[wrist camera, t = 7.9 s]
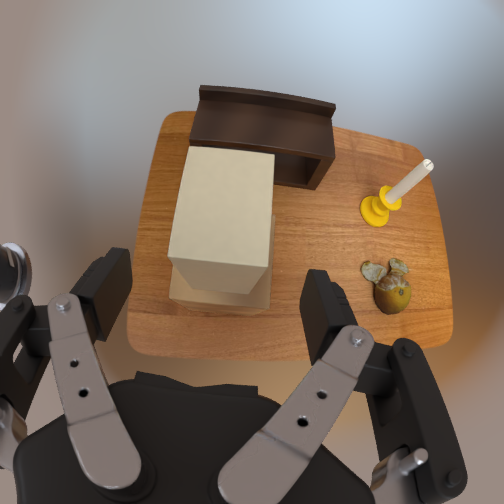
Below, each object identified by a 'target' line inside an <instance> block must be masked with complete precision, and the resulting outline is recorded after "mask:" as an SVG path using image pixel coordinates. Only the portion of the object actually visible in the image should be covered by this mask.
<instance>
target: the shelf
mask: <svg viewBox="0 0 504 504" xmlns="http://www.w3.org/2000/svg"><path fill="white" fill-rule="evenodd" d="M199 96H200V101H199V104H198V108H197V111H196V115H195V118H194V122H193V126H192V129H191V133H190V137H189V142H190V146H195V147H209V148H221V149H231V150H241V151H250V152H258V153H266V154H273V155H275V160H274V179H273V184H275V185H282V186H290V187H297V188H303V189H310V190H315V189H316V188H317V186H318V185H319V183H320V182H321V180H322V178H323V177H324V175H325V174H326V172H327V171H328V169H329V167H330V166H331V164H332V163H333V161H334V159H335V147H334V137H333V128H332V120H331V118H332V116H333V114H334V112H335V110H336V105H335V104H333V103H328V102H324V101H320V100H315V99H310V98H305V97H300V96H294V95H289V94H283V93H277V92H270V91H263V90H255V89H245V88H236V87H224V86H209V85H200V88H199Z"/></svg>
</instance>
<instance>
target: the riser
mask: <svg viewBox="0 0 504 504" xmlns="http://www.w3.org/2000/svg"><path fill="white" fill-rule="evenodd" d="M274 233H275V215H273V214H272V215H271V232H270V248H269V263H268V268H267V269H266V271H265V272H264V273H263V275H262V276H261V278H260V279H259V280H258V282H257V283H256V284H255V286H254V287H253V289H252V290H251V291H250V293H249V294H239V293H229V292H219V291H209V290H200V289H192V288H191V287H190V286H189V284H188V283H187V282H186V280H185V279H184V278H183V276H182V275H181V274H180V273H179V271H178V270H177V269H176V267H175V266H174V265H173V269H172V276H171V283H170V291H169V299H171V300H173V301H174V302H176V303H178V304H180V305H182V306H183V307H185V308H187V309H189V310H193V311H202V312H211V313H221V314H231V315H242V316H254V315H256V314H258V313H261V312H263V311H265V310H268V309H270V297H271V282H272V267H273V251H274Z"/></svg>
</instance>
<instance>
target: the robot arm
mask: <svg viewBox="0 0 504 504" xmlns="http://www.w3.org/2000/svg"><path fill="white" fill-rule="evenodd" d="M21 279H22V266H21V261H20V258H19V256H18V255H17V253H16V252H15V251H13V250H11V249H10V248H8V247H7V246H6V247H4V246H2V245H0V303H2V304H6V303H7V304H6V305H5V307H4V308H3V309H2V311H1V312H0V469H7V470H8V471H10V472H12V473H14V478H15V483H16V491H17V504H442V503H444V502H446V501H448V500H450V499H453V498H455V497H457V496H458V495H460V494H461V493H462V492H463V490H464V489H465V487H466V484H467V479H468V478H467V471H466V467H465V463H464V460H463V456H462V453H461V450H460V447H459V443H458V440H457V437H456V434H455V431H454V428H453V425H452V422H451V420H450V417H449V414H448V411H447V409H446V406H445V403H444V401H443V398H442V396H441V393H440V390H439V388H438V386H437V383H436V381H435V378H434V376H433V374H432V371H431V369H430V367H429V365H428V362H427V360H426V358H425V356H424V354H423V351H422V349H421V348H420V346H419V345H418V344H417V343H415V342H414V341H412V340H410V339H407V338H400V339H397V340H396V341H395V342H394V344H393V345H392V346H389V345H385V344H381V343H377V342H374V339H373V336H372V335H371V334H370V332H368V331H367V330H366V329H364V328H362V327H360V326H358V323H357V321H356V319H355V316H354V314H353V311H352V309H351V307H350V306H349V302H348V300H347V299H346V298H347V297H346V295H345V293H344V291H343V289H342V288H341V287H340V286H339V285H338V284H337V283H336V282H331V281H330V278H329V276H328V274H327V271H325V270H315V269H309V270H308V272H307V276H306V279H305V283H304V287H303V290H302V294H301V297H300V313H301V318H302V322H303V327H304V332H305V337H306V341H307V346H308V351H309V356H310V361H311V365H312V366H313V367H312V368H311V369H310V371H309V372H308V373H307V375H306V376H305V377H304V378H303V380H302V381H301V382H300V384H299V385H298V386H297V387H296V389H295V390H294V391H293V393H292V394H291V395H290V396H289V398H288V399H287V400H286V401H285V403H284V404H283V405H280V404H279V403H277V402H276V401H273V400H271V399H269V398H267V397H264V396H261V395H258V386H247V385H233V384H223V385H214V386H205V387H193V386H189V385H187V384H184V383H181V382H179V381H176V380H174V379H171V378H168V377H166V376H160V375H155V374H150V373H144V372H139V371H137V373H136V375H135V379H130V380H123V381H119V382H116V383H113V384H111V385H109V384H108V382H107V379H106V377H105V374H104V372H103V369H102V366H101V364H100V361H99V358H98V356H97V353H96V350H95V347H94V343H95V341H96V340H100V341H104V342H105V341H106V340H107V337H108V335H109V333H110V331H111V329H112V327H113V325H114V323H115V321H116V319H117V317H118V315H119V313H120V311H121V309H122V307H123V305H124V303H125V301H126V299H127V297H128V295H129V293H130V291H131V288H132V281H133V280H132V270H131V261H130V253H129V250H128V249H123V248H114V247H113V248H111V249H110V250H109V252H108V253H107V254H106V256H105V257H100V258H99V259H97V260H95V261H94V262H93V263H92V264H91V265H90V266H89V268H88V269H87V270H86V271H85V273H84V274H83V276H81V278H80V279H79V280H78V282H77V283H76V284H75V286H74V287H73V288H72V290H71V291H70V292H69V293H64V294H60V295H57V296H56V297H54V298H53V299H52V300H51V301H50V302H49V304H48V305H45V306H34V305H33V303H32V300H31V298H30V297H28V296H26V295H19V296H16V294H17V293H18V290H19V288H20V284H21ZM15 296H16V297H15ZM19 343H21V345H22V346H23V347H22V349H21V351H20V353H19V355H18V356H17V358H16V360H15V362H14V363H13V354H14V352H15V350H16V348H17V346H18V344H19ZM50 359H52V365H53V370H54V375H55V379H56V383H57V387H58V391H59V395H60V399H61V403H62V406H63V409H64V414H63V415H61V416H60V417H58V418H57V419H55V420H53V421H52V422H50V423H49V424H47V425H45V426H44V427H42V428H40V429H39V430H37V431H36V432H34V433H32V434H31V435H29V436H28V435H27V426H26V423H25V419H26V416H27V414H28V411H29V408H30V405H31V403H32V400H33V398H34V395H35V393H36V390H37V388H38V385H39V383H40V380H41V378H42V376H43V374H44V372H45V369H46V367H47V365H48V363H49V361H50ZM352 391H357V392H362V393H365V394H366V398H367V402H368V407H369V411H370V416H371V420H372V425H373V430H374V435H375V440H376V444H377V450H378V454H379V460H380V462H379V463H378V464H377V465H376V467H375V468H374V470H373V472H372V482H371V486H370V488H369V486H368V485H367V484H366V483H365V482H364V481H363V480H362V479H360V478H359V477H358V476H357V475H356V474H354V472H352V471H351V470H350V469H349V468H348V467H347V466H346V465H344V464H343V463H342V462H341V461H340V460H339V459H338V458H337V457H336V456H334V455H333V454H332V453H331V452H330V451H329V450H328V449H327V448H326V447H325V446H324V445H322V442H323V440H324V439H325V437H326V435H327V434H328V432H329V431H330V429H331V428H332V426H333V424H334V423H335V421H336V419H337V418H338V416H339V414H340V412H341V411H342V409H343V407H344V406H345V404H346V402H347V400H348V398H349V397H350V395H351V393H352Z"/></svg>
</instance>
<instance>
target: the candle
mask: <svg viewBox="0 0 504 504" xmlns="http://www.w3.org/2000/svg"><path fill="white" fill-rule="evenodd" d="M432 169H433V163H432V162H431V161H430V160H428V159H425V160H424V161H423V162H421V163H420V164H419V165H418V166H417V167H416V168H414V169H413V170H412V171H411V172H410V173H409V174H408V175H407V176H406V177H405V178H403V179H402V180H401V181H400V182H399V183H398V184H397V185H396V186H395V187H391V186H384V187H382V188H381V189H380V192H379V196H380V197H375V196H368V197H366V198H365V199H363V200H362V202H361V205H360V212H361V215H362V217H363V219H364V220H365V221H366V222H367V223H368V224H369V225H371V226H373V227H381V226H384V225H385V224H386V223H387V221H388V218H389V211H390V210H398V209H399V208H400V206H401V203H402V202H401V197H402V196H403V195H404V194H405V193H406V192H408V191H409V190H410V189H411V188H412V187H413V186H415V185H416V184H417V183H418V182H419V181H420V180H422V179H423V178H424V177H425V176H426V175H427V174H428V173H429V172H430V171H431V170H432Z"/></svg>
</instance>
